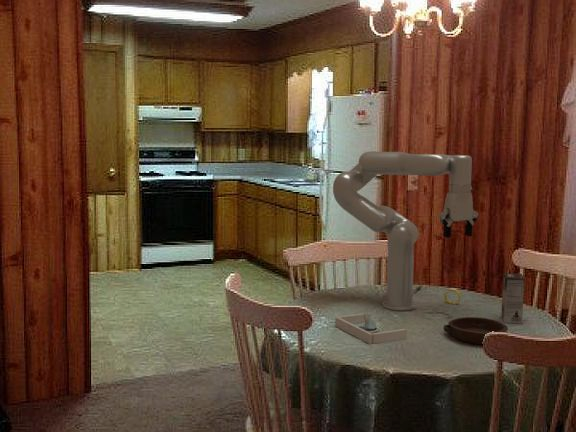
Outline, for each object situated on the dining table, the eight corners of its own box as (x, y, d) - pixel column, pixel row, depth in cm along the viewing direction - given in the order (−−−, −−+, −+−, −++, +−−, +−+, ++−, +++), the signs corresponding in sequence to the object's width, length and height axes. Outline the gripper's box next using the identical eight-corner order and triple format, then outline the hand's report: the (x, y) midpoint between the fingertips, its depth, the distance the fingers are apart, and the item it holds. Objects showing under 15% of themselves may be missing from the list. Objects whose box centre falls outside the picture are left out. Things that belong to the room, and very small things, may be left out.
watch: (460, 304, 254) (462, 289, 253) (458, 306, 251) (460, 291, 250) (445, 301, 257) (446, 286, 256) (443, 303, 254) (444, 288, 253)
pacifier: (382, 330, 218) (366, 326, 221) (383, 312, 217) (367, 309, 220) (372, 335, 212) (356, 332, 215) (373, 317, 211) (357, 313, 214)
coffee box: (500, 316, 237) (502, 272, 235) (519, 317, 235) (521, 273, 233) (503, 322, 228) (505, 277, 226) (522, 324, 226) (525, 278, 224)
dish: (451, 327, 222) (451, 312, 222) (518, 337, 211) (519, 322, 211) (435, 340, 207) (436, 325, 207) (507, 352, 196) (508, 336, 196)
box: (335, 325, 222) (335, 317, 222) (368, 321, 228) (368, 312, 228) (370, 344, 202) (370, 334, 202) (406, 338, 208) (406, 329, 208)
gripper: (471, 188, 242) (469, 233, 244) (433, 189, 235) (432, 236, 237) (485, 189, 236) (483, 236, 238) (447, 190, 228) (445, 239, 230)
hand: (457, 236), depth 237 cm, fingers open, 9 cm apart
